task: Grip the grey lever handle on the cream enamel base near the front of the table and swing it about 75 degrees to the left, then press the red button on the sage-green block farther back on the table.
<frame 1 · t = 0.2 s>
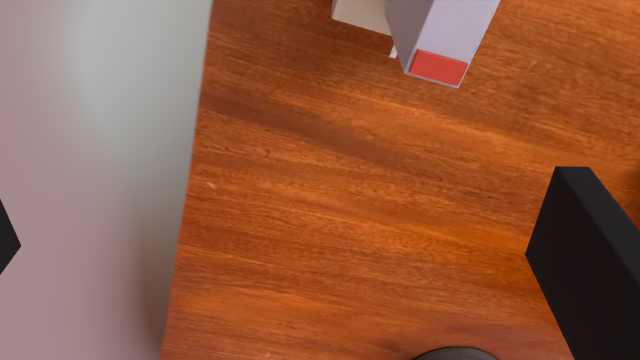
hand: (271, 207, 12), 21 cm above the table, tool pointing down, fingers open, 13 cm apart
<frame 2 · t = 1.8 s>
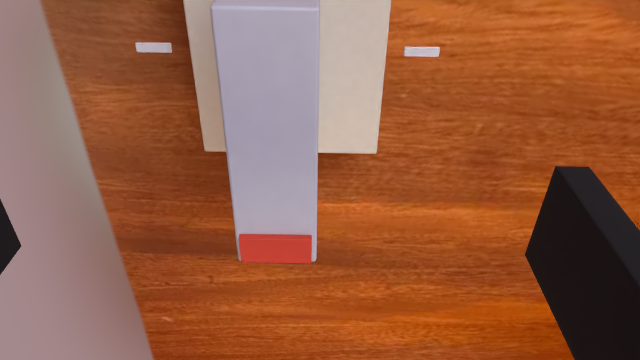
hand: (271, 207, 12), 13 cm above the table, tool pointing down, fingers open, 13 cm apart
tap base: (291, 28, 22), on the table
grey lever handle: (281, 94, 17), point 7 cm above the table, hinge at 0.0°
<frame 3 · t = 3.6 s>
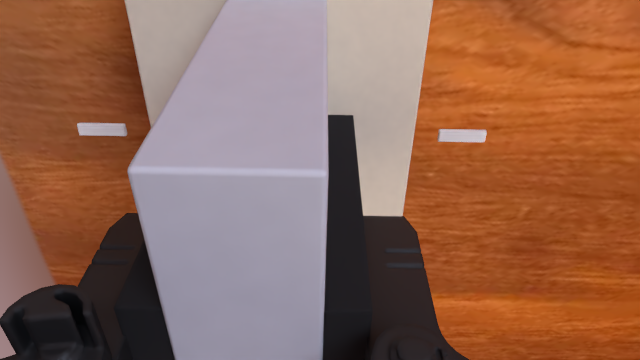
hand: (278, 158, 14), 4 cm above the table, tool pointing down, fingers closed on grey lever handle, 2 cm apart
tap base: (287, 95, 17), on the table
grey lever handle: (269, 219, 11), point 7 cm above the table, hinge at 0.0°, touching gripper
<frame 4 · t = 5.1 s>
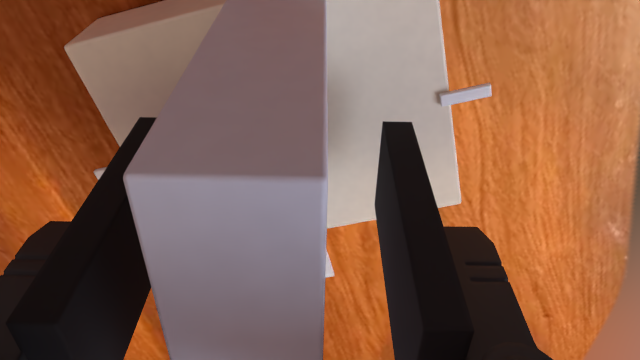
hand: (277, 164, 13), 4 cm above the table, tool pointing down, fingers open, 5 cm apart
tap base: (287, 97, 17), on the table
grey lever handle: (268, 223, 11), point 7 cm above the table, hinge at 75.0°
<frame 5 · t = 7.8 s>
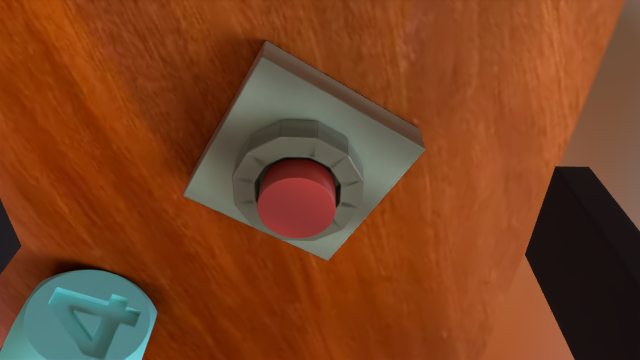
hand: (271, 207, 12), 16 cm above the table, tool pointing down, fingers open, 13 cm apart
decorative dice: (103, 302, 38), on the table
button block: (301, 152, 29), on the table
button: (297, 199, 26), point 4 cm above the table, slide at 0.1 cm
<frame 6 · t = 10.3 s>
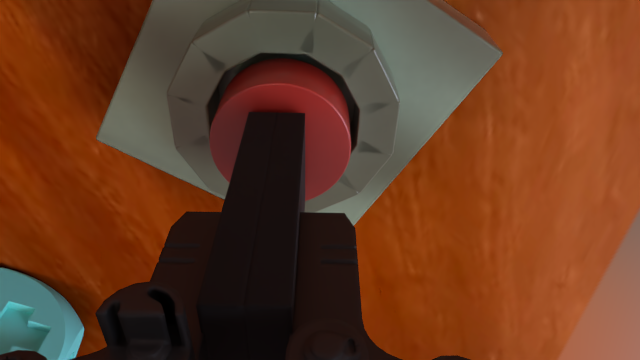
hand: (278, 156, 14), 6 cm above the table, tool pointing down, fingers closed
decorative dice: (8, 312, 27), on the table
button block: (291, 73, 18), on the table
button: (282, 133, 15), point 4 cm above the table, slide at 0.1 cm, touching gripper
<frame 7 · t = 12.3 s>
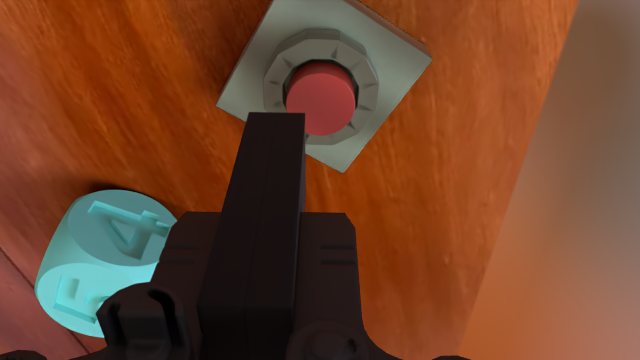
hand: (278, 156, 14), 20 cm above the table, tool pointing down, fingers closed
decorative dice: (131, 226, 41), on the table
button block: (320, 70, 33), on the table
button: (320, 99, 29), point 4 cm above the table, slide at 0.1 cm
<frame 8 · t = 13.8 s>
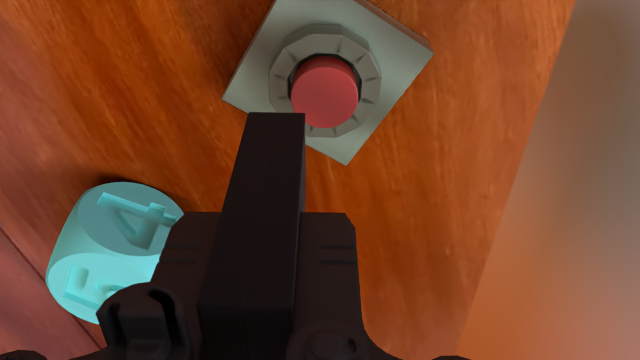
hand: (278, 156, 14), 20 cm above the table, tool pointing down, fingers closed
decorative dice: (138, 218, 42), on the table
button block: (324, 64, 34), on the table
button: (324, 92, 30), point 4 cm above the table, slide at 0.1 cm
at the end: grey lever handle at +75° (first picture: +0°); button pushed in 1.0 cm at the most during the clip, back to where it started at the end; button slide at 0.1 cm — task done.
